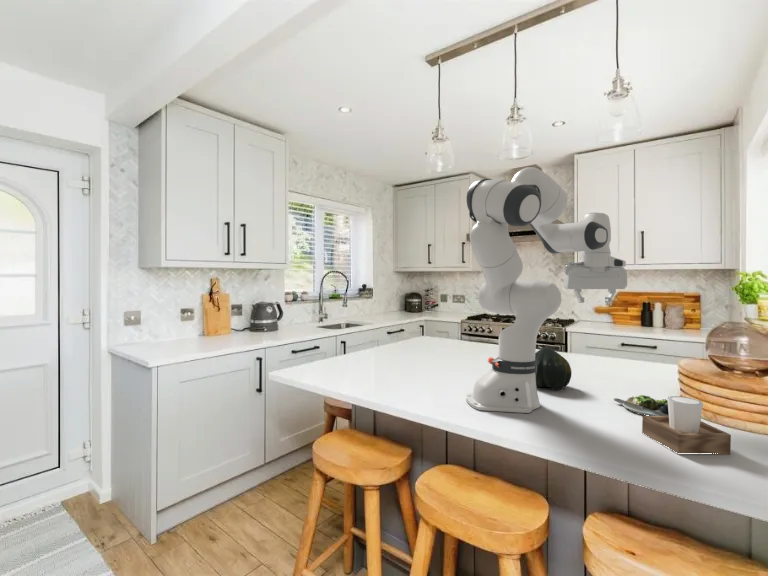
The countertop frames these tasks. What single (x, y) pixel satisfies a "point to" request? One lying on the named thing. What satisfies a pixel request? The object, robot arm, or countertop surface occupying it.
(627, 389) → the countertop surface
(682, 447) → the walnut stand
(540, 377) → the squash
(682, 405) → the shot glass
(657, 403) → the salad plate
